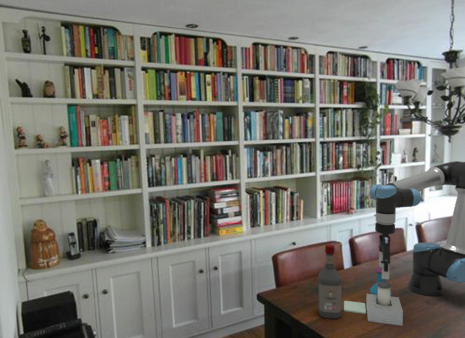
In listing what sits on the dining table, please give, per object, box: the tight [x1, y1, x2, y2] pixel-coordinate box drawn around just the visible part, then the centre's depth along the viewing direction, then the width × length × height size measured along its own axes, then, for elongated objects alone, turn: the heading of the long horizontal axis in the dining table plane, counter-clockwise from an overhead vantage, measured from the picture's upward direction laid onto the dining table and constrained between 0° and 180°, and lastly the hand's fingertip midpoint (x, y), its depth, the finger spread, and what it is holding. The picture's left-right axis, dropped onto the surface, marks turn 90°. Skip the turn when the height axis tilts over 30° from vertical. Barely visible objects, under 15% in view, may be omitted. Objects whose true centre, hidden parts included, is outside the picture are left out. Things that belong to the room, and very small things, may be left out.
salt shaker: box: [378, 281, 392, 306], centre depth 148 cm, size 5×5×12 cm
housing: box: [365, 293, 404, 327], centre depth 149 cm, size 13×13×6 cm
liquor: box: [317, 244, 342, 320], centre depth 150 cm, size 9×9×30 cm
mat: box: [343, 300, 367, 315], centre depth 156 cm, size 9×9×1 cm
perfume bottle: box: [369, 267, 393, 297], centre depth 162 cm, size 9×9×15 cm
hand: (383, 272), depth 147 cm, fingers open, 13 cm apart
